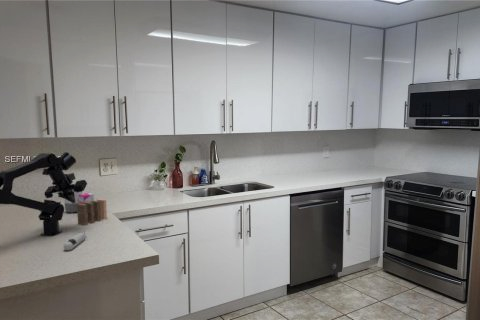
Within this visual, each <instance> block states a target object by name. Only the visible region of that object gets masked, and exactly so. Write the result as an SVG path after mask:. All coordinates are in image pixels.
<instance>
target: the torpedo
mask: <svg viewBox="0 0 480 320" xmlns="http://www.w3.org/2000/svg"><path fill="white" fill-rule="evenodd" d="M79 225H80V224H79ZM80 227H82V225H80ZM85 238H87V235H86V231H83V232H82V231H80V232H78V233H77V234H75V235H74V236H72V237H71V238H69V239H68V241H65V242H64V243H63V250H64V251H72V250H73V249H74V248H76V247H78V245H79V244H81V243H82V242H83V241H84V240H85Z"/></svg>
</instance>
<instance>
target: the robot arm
mask: <svg viewBox="0 0 480 320" xmlns="http://www.w3.org/2000/svg"><path fill="white" fill-rule="evenodd" d="M76 163H77V160H76V158H75V156H73V155H71V154H70V153H69V152H64V153H62V155H61V156H56V154H55V153H52V152H51V153H50V152H45V153H44V152H41V153H39V154H37V155H36V156H34V157H33V158H32V159H31V160H29V161H26V162H24V163H23V162H22V163H21V164H19V165H15V166H14V167H11V168H8V169H5V170H2V171H0V205H13V206H18V207H23V208H26V209H27V208H28V209H31V210H36V211H38V212H40V213H39V214H38V218H39V221H42V226H43V227H42V229H43V230H42V231H43V232H42V233H40V234H39V235H40V236H49V237H50V236H56V235H58V234H60V233H62V232H63V230H61V229H60V224H59V221H62V220H63V216H64V212H65V205H63V204H62V202H61V201H56V200H52V199H51V200H50V198H53V196H54V194H57V195H58V196H57V197H58V198H61V199H64V200H65V199H66V200H68V201H70V202H72V203H75V195H74V192H84V191H85V189H86V187H87V185H88V183H87V181H86V180H85V179H80V180H77V181H76V182H75V183H73V181H74V180H76V175H75V173H74V172H71V173H65V172H64V171H68V170H69V169H71V167H73V166H74V165H75V164H76ZM39 169H43V171H42V173H41V175H44V176H49V178H50V180H51V181H52V183H51V186H48V187H47V188H46V189H45V191H44V193H43V195H44V196H45V198H46V199H44V200H43V201H39V200H35V199H31V198H27V197H23V196H19V195H16V194H15V193H13V192H12V190H13V187H14V185H13V184H14V180H15V179H17V178H19V177H22V176H25V175H27V174H29V173H32V172H34V171H37V170H39Z"/></svg>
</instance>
